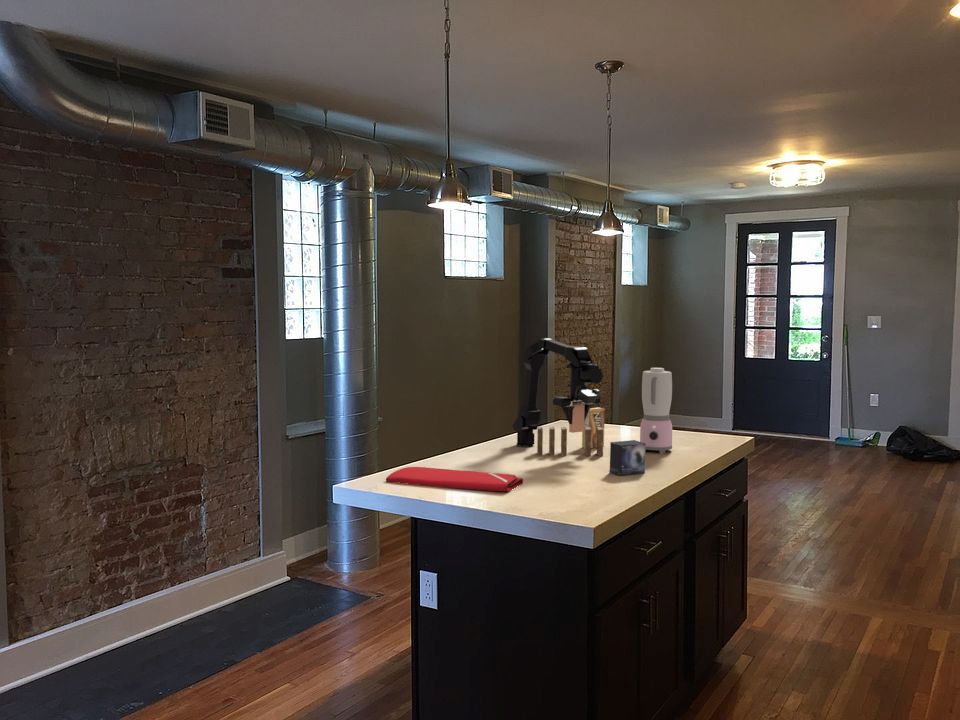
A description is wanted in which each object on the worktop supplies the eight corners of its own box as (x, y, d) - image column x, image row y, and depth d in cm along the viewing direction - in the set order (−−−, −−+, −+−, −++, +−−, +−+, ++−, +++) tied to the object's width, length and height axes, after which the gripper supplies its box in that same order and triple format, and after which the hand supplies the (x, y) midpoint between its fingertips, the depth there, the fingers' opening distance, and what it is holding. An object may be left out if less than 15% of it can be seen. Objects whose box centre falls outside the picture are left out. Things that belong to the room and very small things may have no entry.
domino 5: (585, 455, 294) (586, 429, 294) (584, 453, 300) (585, 427, 299) (590, 456, 294) (591, 429, 294) (589, 453, 300) (589, 427, 299)
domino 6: (598, 456, 294) (598, 429, 294) (596, 453, 300) (596, 427, 299) (602, 456, 294) (603, 429, 293) (601, 453, 300) (601, 427, 299)
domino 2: (549, 455, 295) (549, 429, 294) (549, 452, 301) (549, 426, 300) (554, 455, 295) (554, 429, 294) (553, 452, 301) (554, 426, 300)
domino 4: (584, 431, 292) (584, 404, 291) (572, 432, 289) (572, 405, 288) (580, 430, 293) (581, 403, 292) (569, 431, 290) (569, 404, 289)
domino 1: (537, 455, 295) (537, 428, 295) (537, 452, 301) (537, 426, 300) (542, 455, 295) (542, 429, 295) (542, 452, 301) (542, 426, 300)
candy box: (596, 445, 317) (597, 407, 316) (604, 446, 314) (605, 408, 313) (581, 447, 312) (581, 409, 311) (589, 449, 309) (589, 410, 308)
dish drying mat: (408, 473, 265) (408, 462, 265) (523, 485, 249) (523, 473, 249) (385, 483, 251) (385, 472, 250) (506, 496, 235) (506, 483, 234)
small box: (620, 476, 260) (621, 445, 259) (608, 472, 265) (609, 441, 265) (646, 473, 264) (646, 442, 264) (633, 469, 270) (634, 439, 269)
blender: (643, 446, 313) (644, 366, 311) (674, 449, 309) (675, 367, 307) (635, 453, 299) (636, 369, 297) (668, 456, 294) (669, 370, 292)
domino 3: (561, 455, 295) (562, 429, 294) (561, 452, 301) (561, 426, 300) (566, 455, 295) (566, 429, 294) (565, 452, 300) (566, 426, 300)
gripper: (572, 384, 278) (571, 428, 279) (611, 382, 288) (610, 424, 289) (552, 381, 287) (551, 424, 288) (591, 379, 297) (590, 420, 298)
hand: (576, 423), depth 291 cm, fingers closed on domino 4, 6 cm apart
